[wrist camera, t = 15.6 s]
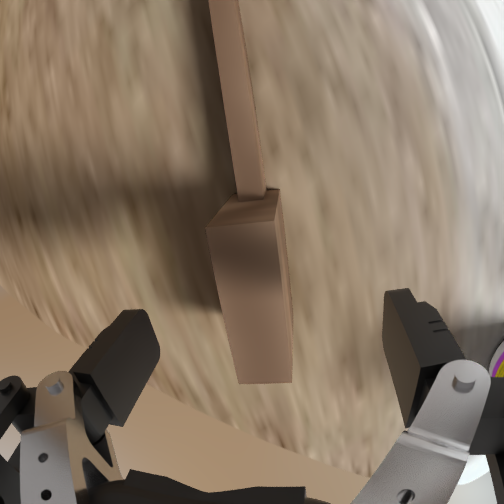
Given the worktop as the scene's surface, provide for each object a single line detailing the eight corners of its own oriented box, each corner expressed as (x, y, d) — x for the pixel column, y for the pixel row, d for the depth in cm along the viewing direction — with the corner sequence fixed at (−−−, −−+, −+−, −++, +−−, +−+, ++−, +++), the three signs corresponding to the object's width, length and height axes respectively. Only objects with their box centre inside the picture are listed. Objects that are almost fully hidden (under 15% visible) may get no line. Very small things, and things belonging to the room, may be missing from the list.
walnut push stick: (263, -110, 9) (252, -163, 4) (327, 312, 20) (337, 378, 14) (158, -87, 10) (121, -130, 5) (219, 319, 21) (196, 383, 15)
